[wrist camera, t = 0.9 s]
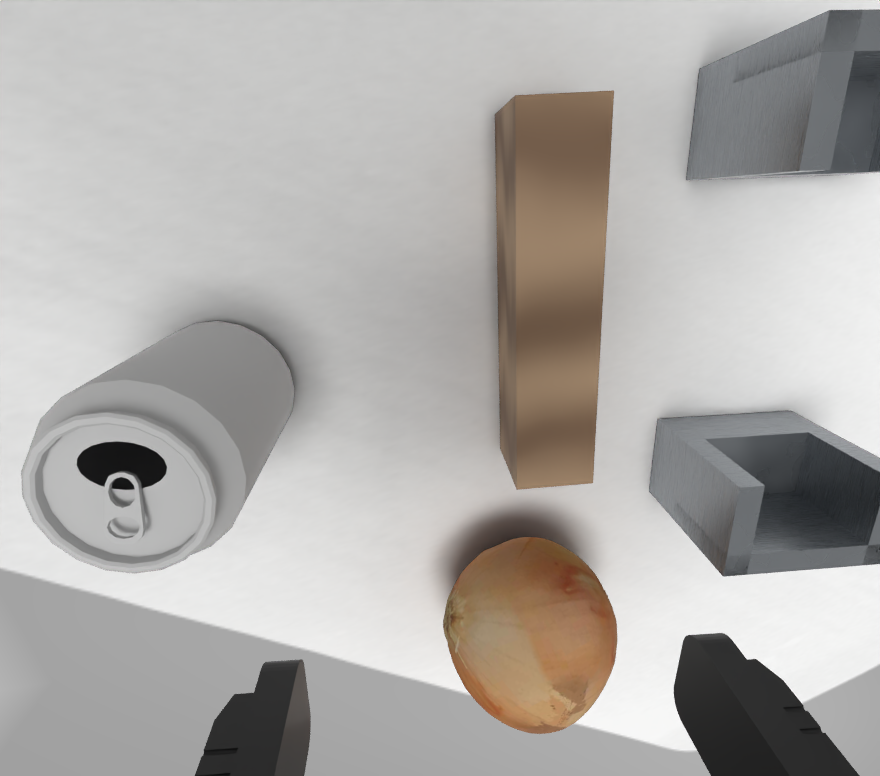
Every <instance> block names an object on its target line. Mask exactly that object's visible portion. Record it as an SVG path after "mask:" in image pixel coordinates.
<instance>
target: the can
mask: <svg viewBox="0 0 880 776" xmlns="http://www.w3.org/2000/svg"><path fill="white" fill-rule="evenodd" d="M294 394H295V390H294V385H293V381H292V376H291V371H290V369H289V368H288V366H287V364H286V362H285V361H284V359H283V357H282V356H281V354H280V352H279V351H278V350H277V349H276V348H275V347H274V346H273V345H271V344H270V343H269V342H268V341H267V340H266V339H265V338H264V337H263V336H261V335H259V334H257V333H255V332H253V331H251V330H249V329H247V328H246V327H244V326H242V325H237V324H232V323H227V322H221V321H211V322H202V323H194V324H192V325H190V326H188V327H186V328H183V329H181V330H179V331H177V332H175V333H173V334H171V335H170V336H168V337H166V338H164V339H163V340H161V341H159V342H157V343H156V344H154V345H152V346H150V347H149V348H147V349H145V350H143V351H142V352H140V353H138V354H136V355H135V356H133V357H131V358H129V359H128V360H126V361H124V362H122V363H121V364H119V365H117V366H115V367H114V368H112V369H110V370H108V371H107V372H105V373H103V374H101V375H100V376H98V377H96V378H94V379H93V380H91V381H89V382H87V383H86V384H84V385H82V386H80V387H79V388H77V389H75V390H73V391H72V392H70V393H68V394H66V395H65V396H63V397H61V398H60V399H59V400H58V401H57V402H56V403H55V404H54V406H53V407H52V408H51V409H50V410H49V411H48V412H47V413H46V414H45V415H44V416H43V417H42V418H41V419H40V421H39V424H38V427H37V429H36V432H35V435H34V438H33V440H32V443H31V446H30V449H29V452H28V455H27V457H26V460H25V463H24V465H23V468H22V471H21V475H22V495H23V499H24V501H25V503H26V506H27V508H28V510H29V513H30V515H31V517H32V519H33V522H34V523H35V524H36V525H37V526H38V527H39V529H40V530H41V531H42V532H43V533H44V534H45V535H46V537H47V538H48V539H49V540H50V541H51V542H52V543H53V544H54V545H56V546H57V547H59V548H60V549H62V550H63V551H65V552H66V553H68V554H69V555H71V556H72V557H74V558H75V559H77V560H79V561H82V562H85V563H87V564H90V565H93V566H95V567H98V568H101V569H104V570H109V571H118V572H126V573H141V572H149V571H156V570H162V569H165V568H167V567H169V566H171V565H174V564H176V563H178V562H181V561H183V560H185V559H186V558H188V557H189V556H190V555H192V554H194V553H197V552H199V551H201V550H204V549H206V548H208V547H211V546H212V545H213V544H214V543H215V542H216V541H218V540H219V539H220V538H221V537H222V536H223V535H224V534H225V533H227V532H228V531H229V530H230V529H231V528H232V526H233V524H234V522H235V520H236V518H237V516H238V514H239V513H240V511H241V509H242V507H243V505H244V503H245V501H246V499H247V497H248V495H249V493H250V491H251V490H252V488H253V486H254V484H255V482H256V480H257V478H258V476H259V474H260V472H261V470H262V468H263V466H264V464H265V463H266V461H267V459H268V457H269V455H270V453H271V451H272V449H273V447H274V445H275V443H276V441H277V439H278V438H279V436H280V434H281V432H282V430H283V428H284V426H285V424H286V422H287V420H288V418H289V416H290V414H291V412H292V409H293V401H294Z"/></svg>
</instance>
